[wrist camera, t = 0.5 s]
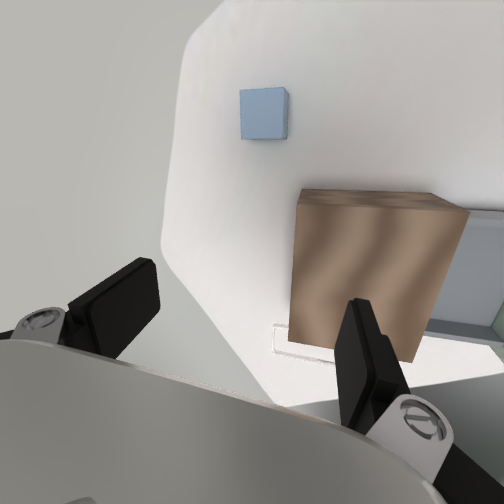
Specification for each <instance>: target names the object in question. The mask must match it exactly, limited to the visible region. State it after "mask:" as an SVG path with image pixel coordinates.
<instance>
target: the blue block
mask: <svg viewBox="0 0 504 504" xmlns="http://www.w3.org/2000/svg"><path fill="white" fill-rule="evenodd" d="M288 96H289V94H288V92H287V91H286V89H285V88H284V87H278V88H264V89H249V90H240V118H241V139H287V119H288Z"/></svg>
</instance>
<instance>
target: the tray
mask: <svg viewBox="0 0 504 504" xmlns="http://www.w3.org/2000/svg"><path fill="white" fill-rule="evenodd" d="M467 211H469V212H471V213H470V215H469V218H468V220H467V223H466V226H465V228H464V231H463V233H462V236H461V238H460V241H459V244H458V246H457V249H456V251H455V254H454V256H453V259H452V262H451V264H450V267H449V269H448V272H447V275H446V277H445V280H444V282H443V285H442V287H441V290H440V293H439V295H438V298H437V300H436V303H435V305H434V308H433V311H432V313H431V316H430V318H429V321H428V323H427V326H426V329H425V331H424V334H423V335H424V336H430V337H437V338H443V339H450V340H457V341H463V342H470V343H476V344H483V345H489V346H490V347H491V349H492V350H493V351H494V352H495V353H496V355H497V356H498V357H499V358H500V359H501V361H502V362H503V363H504V211H482V210H467Z"/></svg>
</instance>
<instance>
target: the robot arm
mask: <svg viewBox="0 0 504 504" xmlns="http://www.w3.org/2000/svg"><path fill="white" fill-rule="evenodd" d="M68 307H69V310H68V311H67V312H66V313H65V311H64V310H63V309H62V308H59V307H58V308H57V307H50V308H44V309H40V310H37V311H35V312H32V313H31V314H29V315H27V316H25V317H24V318H23V319H21V320H20V321H19V323H18V324H17V326H16V328H15V330H11V331H7V332H3V333H0V504H504V487H503V486H502V485H501V484H500V483H498V482H497V481H496V480H495V479H494V478H492V477H491V476H490V475H489V474H488V473H487V472H486V471H485V470H483V469H482V468H481V467H480V466H479V465H478V464H477V463H475V462H474V461H473V460H472V459H471V458H470V457H468V456H467V455H466V454H465V453H464V452H463V451H462V450H460V449H459V448H458V447H457V446H456V445H455V444H454V443H453V437H454V436H453V432H452V428H451V426H450V424H449V423H448V421H447V419H446V418H445V417H444V416H443V414H442V413H441V412H440V411H439V410H438V409H436V408H435V407H434V406H433V405H432V404H430V403H429V402H427V401H425V400H424V399H422V398H420V397H417V396H414V395H411V393H410V390H409V387H408V385H407V382H406V380H405V377H404V375H403V372H402V369H401V367H400V364H399V362H398V359H397V357H396V354H395V351H394V349H393V346H392V344H391V341H390V339H389V337H388V336H387V335H384V334H381V331H380V328H379V326H378V323H377V320H376V317H375V314H374V311H373V309H372V306H371V303H370V301H369V300H366V299H361V298H356V297H355V298H354V299H353V300H349V301H348V304H347V307H346V311H345V314H344V317H343V320H342V324H341V327H340V330H339V333H338V337H337V340H336V343H335V348H334V356H335V366H336V376H337V386H338V396H339V406H340V417H341V425H338V424H336V423H333V422H330V421H327V420H325V419H322V418H318V417H315V416H312V415H309V414H305V413H302V412H299V411H295V410H292V409H289V408H286V407H283V406H279V405H276V404H272V403H269V402H265V401H262V400H258V399H255V398H251V397H248V396H244V395H241V394H237V393H234V392H230V391H227V390H223V389H220V388H216V387H213V386H209V385H205V384H202V383H199V382H195V381H191V380H188V379H184V378H181V377H177V376H174V375H170V374H166V373H163V372H159V371H156V370H152V369H148V368H145V367H141V366H137V365H134V364H130V363H127V362H123V361H119V360H116V358H117V357H118V356H119V355H120V354H121V352H122V351H123V350H124V349H125V348H126V347H127V346H128V345H129V344H130V343H131V342H132V340H133V339H134V338H135V337H136V336H137V335H138V334H139V333H140V332H141V331H142V329H143V328H144V327H145V326H146V325H147V324H148V323H149V322H150V321H151V320H152V318H154V316H155V315H156V314H157V313H158V312H159V310H160V297H159V290H158V281H157V272H156V265H155V263H153V261H152V260H151V259H148V258H142V257H139V258H137V259H136V260H134V261H133V262H131V263H130V264H128V265H127V266H125V267H123V268H122V269H121V270H119V271H117V272H116V273H115V274H113V275H111V276H110V277H108V278H107V279H105V280H104V281H102V282H101V283H99V284H98V285H96V286H94V287H93V288H91V289H90V290H88V291H87V292H85V293H84V294H82V295H81V296H79V297H78V298H76V299H75V300H73V301H72V302H70V303H69V304H68Z"/></svg>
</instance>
